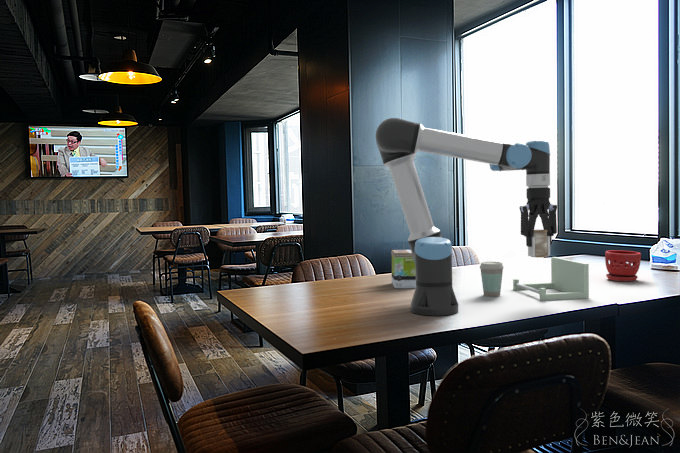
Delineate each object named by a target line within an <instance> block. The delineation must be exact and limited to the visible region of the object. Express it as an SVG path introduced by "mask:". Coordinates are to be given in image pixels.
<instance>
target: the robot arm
mask: <svg viewBox="0 0 680 453" xmlns="http://www.w3.org/2000/svg"><path fill="white" fill-rule="evenodd" d="M375 143H376V147H377V148H378V151H379V154H380V158H381V160H382V164H383V166H384V167H386V168H388V169H389V171H390V174H391V177H392V180H393V184H394V187H395V190H396V193H397V195H398V200H399V202H400V206H401V209H402V212H403V215H404V218H405V221H406V224H407V228H408V230H409V236H408V238H407V241H408V245H409V246H408V247H409V248H410V249H409V250H411V252H412V255H413V260H414V263H415V271H416V288H414V293H413V295H412V299H411V302H410V311H411V312H412V313H413V314H417V315H423V316H435V317H437V316H450V315H455V314H457V313H458V312H459V303H458V300H457V297H456V293H455V292H454V289H453V259H452V258H453V247H452V241H451V240H450V239H448V238H447V237H443V236H442V232H441V230H440V229H439V228H437V227H436V226H435V225H434V221H433V219H432V214H431V212H430V209H429V206H428V203H427V199H426V197H425V196H426V195H425V193H424V189H423V187H422V184H421V183H422V182H421V181H420V177H419V175H418V174H419V173H418V171H417V168H416V164H415V161H414V159H415V158H416V156H417V152H423V153H427V154H434V155H439V156H445V157H451V158H456V159H460V160H461V159H462V160H467V161H473V162H478V163H484V164H489V168H490V170H491V171H492V172H496V171H497V172H504V171H505V172H506V171H507V172H509V171H526V172H525V174H526V175H525V180H526V181H525V182H526V183H525V186H526V187H527V188H526V199H527V202H526V204H524V205H520V206H519V211H520V235H521V236H524V237H525V242H526V243H525V244H526V247H527V257H531V256H532V258H536V257H535V237H532V236H533V232H534V230H535V226H536V222H537V218H538V217H540V221H541V224H542V228H543V229H542V230H547V255H548V257H549V256H551V246H552V241H553V240H552V237H554V235H555V234H557V232H558V226H557V209H558V205H557V204H552V203H551V202H550V201H551V200H550V198H551V188H550V187H549V186H551V171H550V170H551V169H550V167H551V165H550V164H551V152H550V142H549V141H547V140H532V141H531V140H530V141H527V142H526V143H525V144H524V143H519V142H517V143H511V142H505V141H501V140H495V139H489V138H485V137H478V136H473V135H467V134H462V133H456V132H452V131H444V130H441V129H435V128H434V129H433V128H428V127H424V125H423V124H422V123H420V122H419V123H418V122H415V121H410V120H406V119H402V118H398V117H389V118H387V119H385V120H383V121H382V122H381V123H379V125H378V127H377V128H376V131H375Z"/></svg>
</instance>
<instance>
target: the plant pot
mask: <svg viewBox="0 0 680 453" xmlns="http://www.w3.org/2000/svg"><path fill="white" fill-rule="evenodd" d="M604 255H605V256H604V262H605V268H606V271H607V273H606V275H605V276H606V278H607V279H608V280H610V281H615V282H634V281H636V280H637V279H638V278H639V277H638V275H637V273H638V272H639V270H640V266H641V260H642V253H641V252H638V251H633V250H617V249H616V250H615V249H614V250H612V249H611V250H606V251H605V254H604Z"/></svg>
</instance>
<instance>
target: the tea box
mask: <svg viewBox="0 0 680 453" xmlns="http://www.w3.org/2000/svg"><path fill="white" fill-rule="evenodd" d="M390 257H391V258H390V259H391V262H390V263H391V284H392V286H393V287H394V289H416V271H415V263H414V260H413V255H412V252H411V249H391V256H390Z"/></svg>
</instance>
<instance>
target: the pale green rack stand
mask: <svg viewBox="0 0 680 453" xmlns="http://www.w3.org/2000/svg"><path fill="white" fill-rule="evenodd" d="M550 261H551V263H550V264H551V270H550V271H551V278H550V279H551V282H535V283H533V282H532V283H520V279H519V278H513V279H512V285H513V286H512V289H513V290H514V291H519V290H520V291H521V290H523V291H524V290H525V291H529V292H532V293H535V294H538V295H539V300H540V301H553V300H575V299H578V300H579V299H590V291H589V290H590V287H589V286H590V283H589V282H590V280H589V278H590V276H589V275H590V274H589V272H590V271H589V270H590V267H589V265H590V264H589V263H588V262H587V263H586V262H582V261H577V260H572V259H568V258H563V257H557V256H552V257H550ZM554 288H555V290H558V291H561V292H550V293H548V292H547V289H554Z"/></svg>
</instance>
